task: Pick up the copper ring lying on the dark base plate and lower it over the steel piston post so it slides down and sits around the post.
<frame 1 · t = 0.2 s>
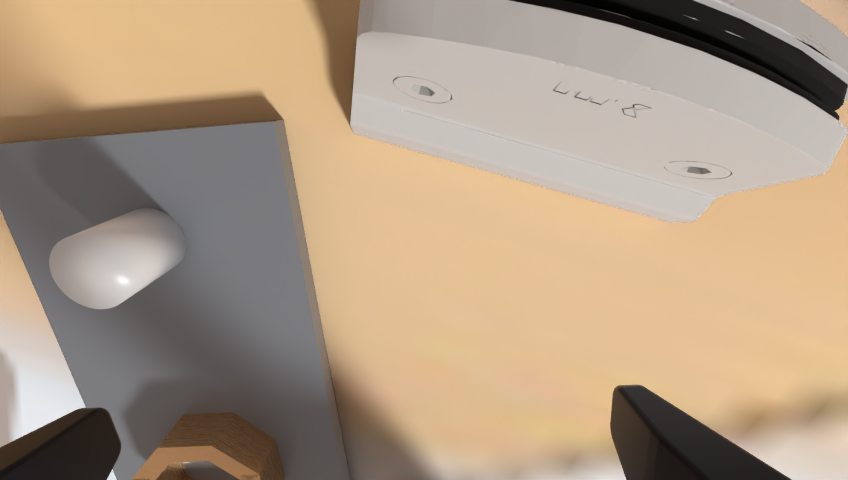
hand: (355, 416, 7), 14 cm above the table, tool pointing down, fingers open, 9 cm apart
ring: (222, 460, 25), point 1 cm above the table, touching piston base
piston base: (203, 348, 24), on the table
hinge: (542, 96, 19), on the table
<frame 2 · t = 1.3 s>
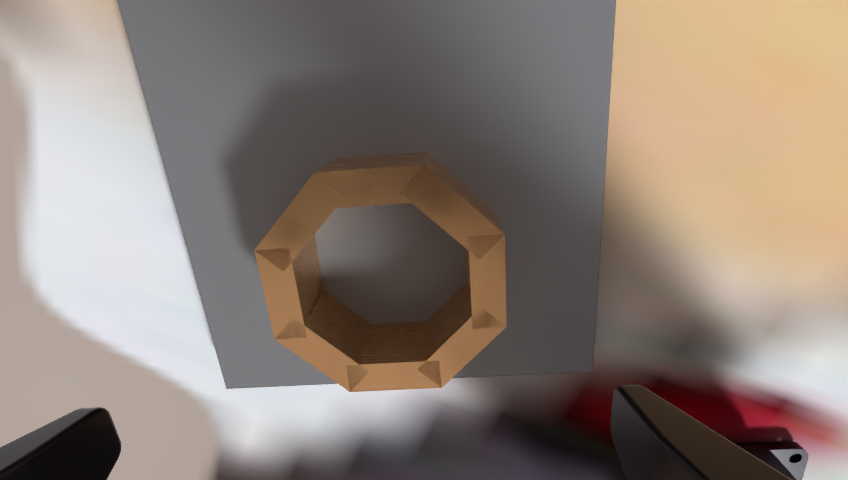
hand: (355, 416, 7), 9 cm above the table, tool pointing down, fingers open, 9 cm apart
ring: (391, 258, 14), point 1 cm above the table, touching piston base
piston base: (372, 37, 13), on the table
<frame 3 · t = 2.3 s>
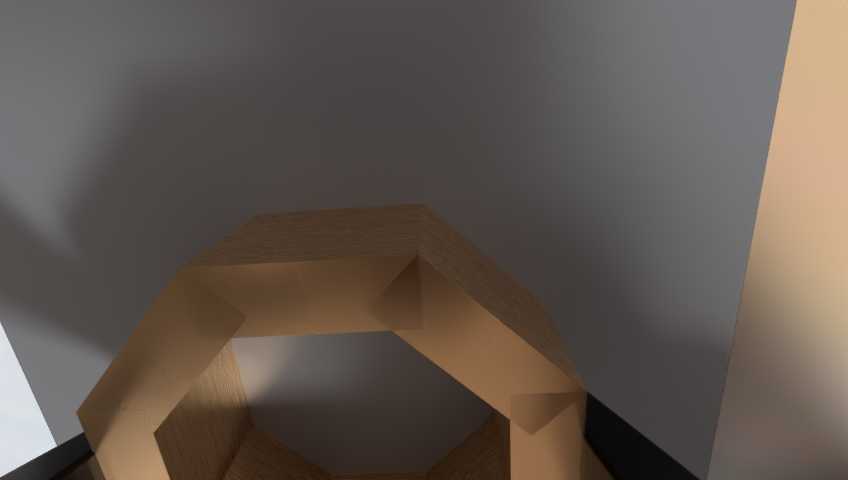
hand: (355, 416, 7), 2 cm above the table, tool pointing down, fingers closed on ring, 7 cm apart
ring: (365, 378, 8), point 1 cm above the table, touching gripper, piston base
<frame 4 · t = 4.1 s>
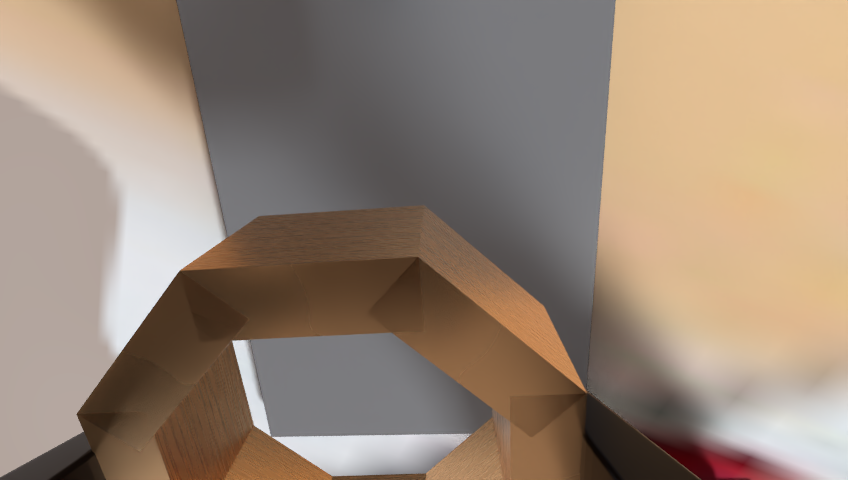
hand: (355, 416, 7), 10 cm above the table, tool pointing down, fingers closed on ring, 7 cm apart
ring: (365, 379, 8), point 9 cm above the table, touching gripper
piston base: (406, 160, 16), on the table
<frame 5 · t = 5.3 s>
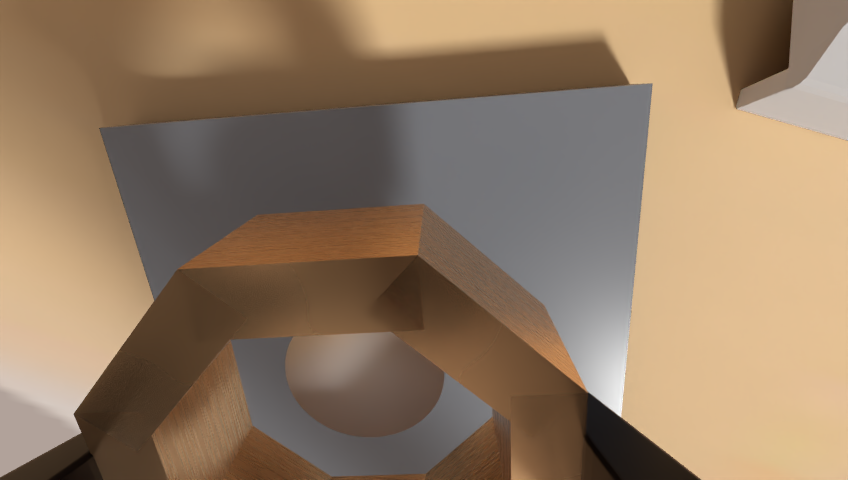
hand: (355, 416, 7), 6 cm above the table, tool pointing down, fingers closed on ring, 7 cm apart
ring: (364, 379, 8), point 5 cm above the table, touching gripper
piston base: (410, 443, 16), on the table
when the fingers open (5 cm above the table, at t = 6.1 s): ring drops 3 cm, resting on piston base.
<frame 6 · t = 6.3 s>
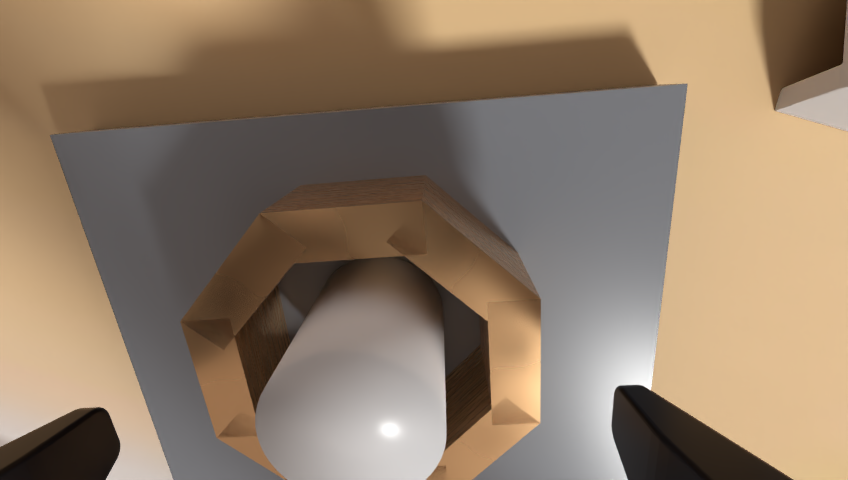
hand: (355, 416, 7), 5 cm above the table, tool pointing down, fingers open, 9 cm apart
ring: (380, 314, 11), point 1 cm above the table, touching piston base
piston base: (408, 479, 14), on the table
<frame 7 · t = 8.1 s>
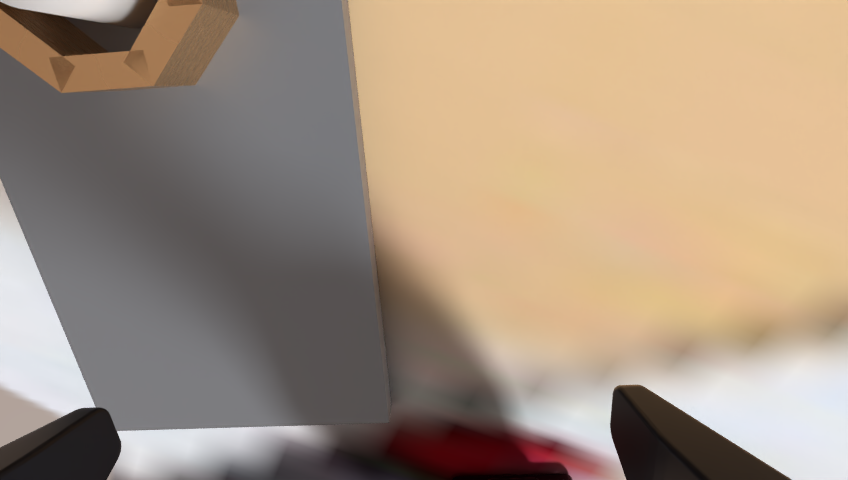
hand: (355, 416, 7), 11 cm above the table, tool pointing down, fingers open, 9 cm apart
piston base: (197, 177, 17), on the table
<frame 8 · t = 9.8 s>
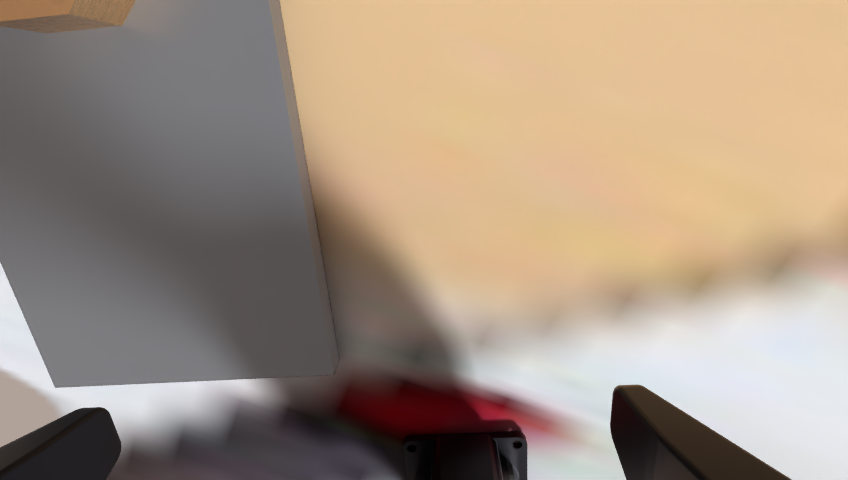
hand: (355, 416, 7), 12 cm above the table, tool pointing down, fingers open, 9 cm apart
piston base: (134, 124, 18), on the table
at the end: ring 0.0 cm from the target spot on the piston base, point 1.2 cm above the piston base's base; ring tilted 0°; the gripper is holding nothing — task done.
